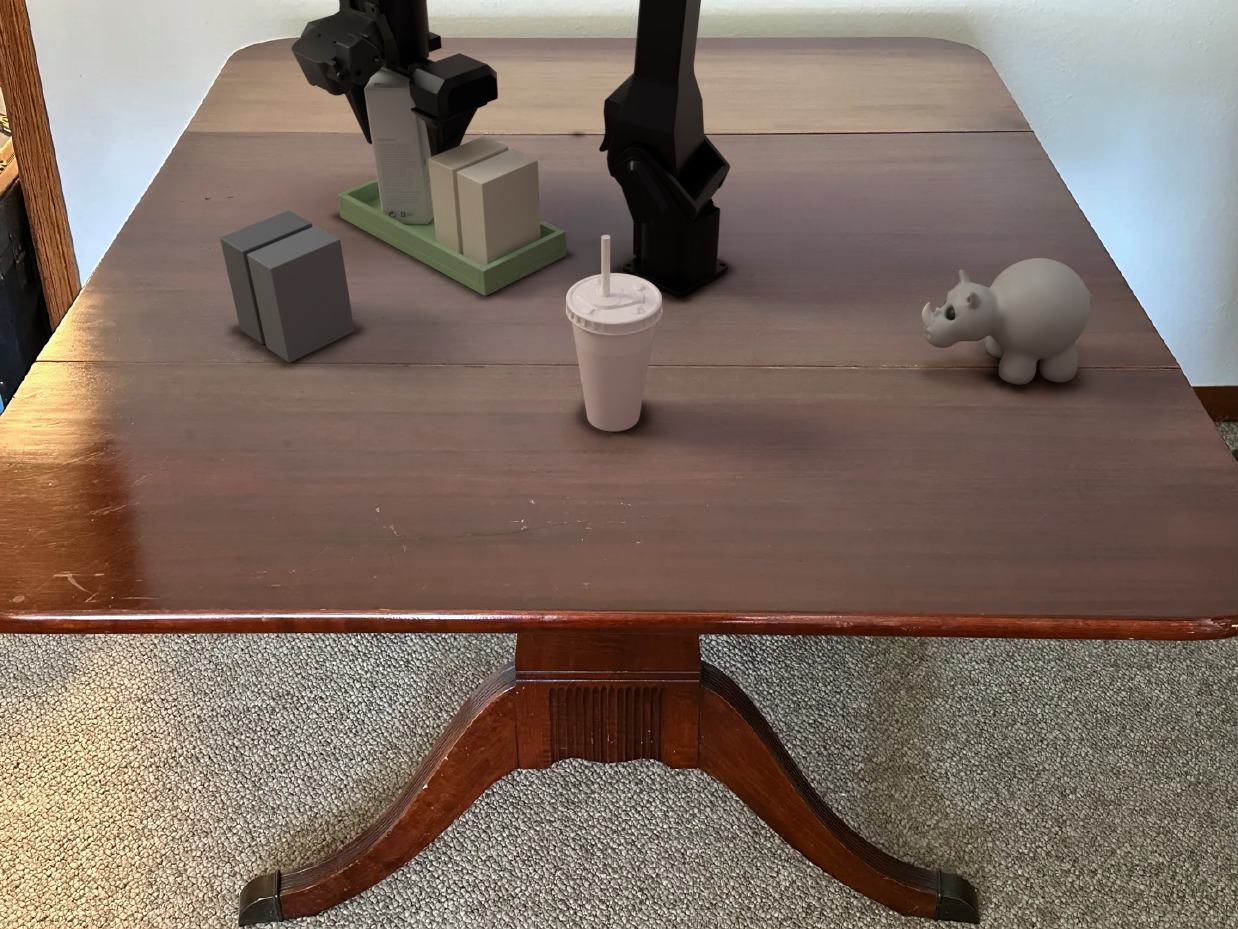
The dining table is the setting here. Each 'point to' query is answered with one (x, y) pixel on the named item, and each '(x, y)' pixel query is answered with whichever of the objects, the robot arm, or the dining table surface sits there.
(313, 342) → the grey books
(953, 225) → the dining table surface
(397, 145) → the cosmetic box
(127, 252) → the dining table surface
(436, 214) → the cream books
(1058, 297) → the toy rhinoceros
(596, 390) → the smoothie
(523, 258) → the green tray
